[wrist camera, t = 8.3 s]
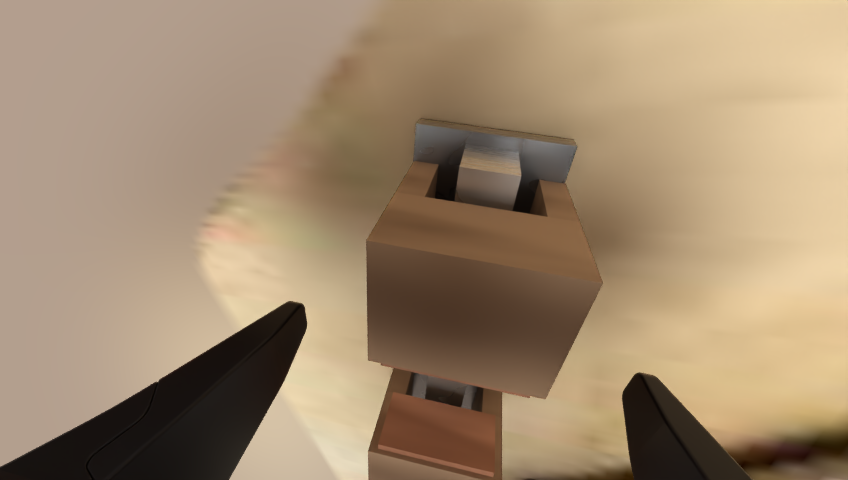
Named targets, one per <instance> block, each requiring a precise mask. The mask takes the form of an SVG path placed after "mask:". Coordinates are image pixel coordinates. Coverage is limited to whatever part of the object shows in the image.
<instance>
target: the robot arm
mask: <svg viewBox="0 0 848 480" xmlns="http://www.w3.org/2000/svg"><path fill="white" fill-rule="evenodd" d="M306 328H307V319H306V313H305V307H304V305H303V304H302V303H298V302H293V301H289V302H286V303H285V304H283V305H281V306H280V307H278V308H276V309H275V310H273V311H271V312H270V313H268V314H267V315H265V316H263V317H262V318H260V319H258V320H257V321H255V322H253V323H252V324H250V325H248V326H247V327H245V328H243V329H242V330H240V331H239V332H237V333H235V334H234V335H232V336H230V337H229V338H227V339H225V340H224V341H222V342H220V343H219V344H217V345H216V346H214V347H212V348H211V349H209V350H207V351H206V352H204V353H202V354H201V355H199V356H198V357H196V358H194V359H193V360H191V361H189V362H188V363H186V364H184V365H183V366H181V367H179V368H178V369H176V370H174V371H173V372H171V373H170V374H168V375H166V376H165V377H163V378H161V379H160V380H159V381H158V382H155V383H153V384H151V385H150V386H148V387H147V388H145V389H143V390H142V391H140V392H138V393H136V394H135V395H133V396H131V397H129V398H128V399H126V400H124V401H123V402H121V403H119V404H118V405H116V406H114V407H112V408H111V409H109V410H107V411H105V412H103V413H101V414H100V415H98V416H96V417H94V418H92V419H91V420H89V421H87V422H85V423H83V424H81V425H79V426H77V427H75V428H74V429H72V430H70V431H68V432H66V433H64V434H62V435H60V436H59V437H57V438H55V439H53V440H51V441H49V442H47V443H45V444H43V445H42V446H39V447H38V448H36V449H34V450H32V451H30V452H28V453H26V454H24V455H22V456H20V457H19V458H17V459H15V460H13V461H11V462H9V463H7V464H5V465H3V466H1V467H0V480H229V479H230V477H231V475H232V473H233V471H234V470H235V468H236V466H237V464H238V463H239V461H240V459H241V457H242V455H243V454H244V452H245V450H246V448H247V447H248V445H249V443H250V441H251V439H252V438H253V436H254V434H255V432H256V431H257V429H258V427H259V425H260V423H261V422H262V420H263V418H264V416H265V414H266V413H267V411H268V409H269V407H270V406H271V404H272V402H273V400H274V398H275V397H276V395H277V393H278V391H279V390H280V388H281V386H282V384H283V382H284V380H285V378H286V376H287V374H288V371H289V369H290V367H291V364H292V362H293V360H294V357H295V355H296V353H297V350H298V348H299V346H300V343H301V341H302V339H303V336H304V334H305V332H306ZM622 401H623V409H624V417H625V425H626V433H627V441H628V450H629V456H630V462H631V467H632V472H633V476H634V480H753V479H752V478H751V477H750V476H749V475H748V474H747V473H746V472H745V471H744V470H743V469H742V468H741V467H740V465H739V464H738V463H737V462H736V461H735V460H734V459H733V458H732V457H731V456H730V455H729V454H728V453H727V452H726V450H725V449H724V448H723V447H722V446H721V445H720V444H719V443H718V442H717V441H716V440H715V439H714V438H713V437H712V436H711V434H710V433H709V432H708V431H707V430H706V429H705V428H704V427H703V426H702V425H701V424H700V423H699V422H698V421H697V419H696V418H695V417H694V416H693V415H692V414H691V413H690V412H689V411H688V410H687V409H686V408H685V407H684V406H683V405H682V403H681V402H680V401H679V400H678V399H677V398H676V397H675V396H674V395H673V394H672V393H671V392H670V391H669V390H668V388H667V387H666V386H665V385H664V384H663V383H662V382H661V381H660V380H659V379H658V378H657V377H655V376H653V375H650V374H645V373H636V374H635V375H634V376H633V378H632V379H631V380H630V382H629V383H628V385H627V386H626V388H625V389H624V391H623V395H622Z"/></svg>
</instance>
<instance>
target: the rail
mask: <svg viewBox="0 0 848 480" xmlns="http://www.w3.org/2000/svg"><path fill="white" fill-rule="evenodd" d="M576 149H577V145H576V143H575V141H574V140H572V139H565V138H558V137H550V136H543V135H536V134H528V133H521V132H514V131H507V130H499V129H492V128H485V127H478V126H470V125H463V124H456V123H449V122H441V121H434V120H427V119H419V121H418V122H417V123H416V132H415V146H414V160H413V162H414V161H419V162H425V163H432V164H439V166H438V174H437V183H436V192H435V199H441V200H447V201H453V202H459V203H465V204H472V205H478V206H484V207H490V208H496V209H502V210H509V211H515V212H521V213H527V214H530V210H531V207H532V203H533V200H534V197H535V193H536V190H537V186H538V183H539V180H544V181H551V182H558V183H564V184H565V181H566V178H567V175H568V172H569V169H570V166H571V163H572V161H573V158H574V155H575V152H576ZM477 388H478V386H473V385H469V384H464V383H460V382H455V381H451V380H446V379H441V378H437V377H432V376H428V375H423V374H419V373H414V381H413V390H412V396H413V397H418V398H422V399H426V400H431V401H435V402H439V403H444V404H448V405H452V406H457V407H461V408H466V409H470V410H471V409H472V405H473V402H474V398H475V395H476V392H477Z"/></svg>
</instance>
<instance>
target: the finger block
mask: <svg viewBox="0 0 848 480" xmlns="http://www.w3.org/2000/svg"><path fill="white" fill-rule="evenodd" d="M438 166H439V164H432V163H425V162H419V161H414V162H413V164H412V166H411V167H410V169H409V171H408V172H407V174H406V176H405V177H404V179H403V181H402V182H401V184H400V186H399V187H398V189H397V191H396V192H395V194H394V196H393V197H392V199H391V200H390V202H389V204H388V205H387V207H386V209H385V210H384V212H383V214H382V215H381V217H380V219H379V220H378V222H377V224H376V225H375V227H374V229H373V230H372V232H371V234H370V235H369V237H368V239H367V240H366V251H367V326H368V360H369V361H374V362H378V363H381V365H383V366H387V367H392V368H396V369H401V370H405V371H410V372H414V373H419V374H423V375H428V376H432V377H437V378H441V379H446V380H451V381H455V382H460V383H464V384H469V385H473V386H478V387H482V388H487V389H491V390H496V391H500V392H505V393H509V394H514V395H519V396H523V397H528V398H530V396H533V397H537V398H542V399H546V397H547V395H548V393H549V391H550V389H551V387H552V385H553V383H554V381H555V379H556V377H557V375H558V373H559V371H560V369H561V367H562V365H563V363H564V361H565V359H566V357H567V355H568V353H569V351H570V349H571V347H572V345H573V343H574V341H575V339H576V336H577V334H578V332H579V330H580V328H581V326H582V324H583V322H584V320H585V318H586V316H587V314H588V312H589V310H590V308H591V306H592V304H593V302H594V300H595V298H596V296H597V294H598V292H599V290H600V288H601V286H602V284H603V282H602V279H601V277H600V274H599V271H598V269H597V266H596V263H595V261H594V258H593V255H592V253H591V250H590V247H589V245H588V242H587V239H586V237H585V234H584V231H583V229H582V226H581V223H580V221H579V218H578V215H577V213H576V210H575V207H574V205H573V202H572V199H571V197H570V194H569V191H568V189H567V186H566V184H564V183H558V182H551V181H544V180H539V183H538V186H537V190H536V193H535V197H534V200H533V203H532V207H531V210H530V214H527V213H521V212H515V211H509V210H502V209H496V208H490V207H484V206H478V205H472V204H465V203H459V202H453V201H447V200H441V199H435V192H436V183H437V174H438Z"/></svg>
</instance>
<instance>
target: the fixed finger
mask: <svg viewBox="0 0 848 480" xmlns="http://www.w3.org/2000/svg"><path fill="white" fill-rule="evenodd" d="M413 381H414V372H410V371H405V370H401V369H396V368H394V369H393V372H392V375H391V379H390V382H389V385H388V388H387V392H386V395H385V398H384V401H383V405H382V408H381V411H380V414H379V418H378V421H377V424H376V427H375V431H374V434H373V437H372V440H371V444H370V447H369V450H368V474H369V480H502V392H500V391H496V390H491V389H487V388H482V387H478V388H477V392H476V395H475V398H474V402H473V405H472V409H471V410H470V409H466V408H461V407H457V406H452V405H448V404H444V403H439V402H435V401H431V400H426V399H422V398H418V397H413V396H412V390H413Z"/></svg>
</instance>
